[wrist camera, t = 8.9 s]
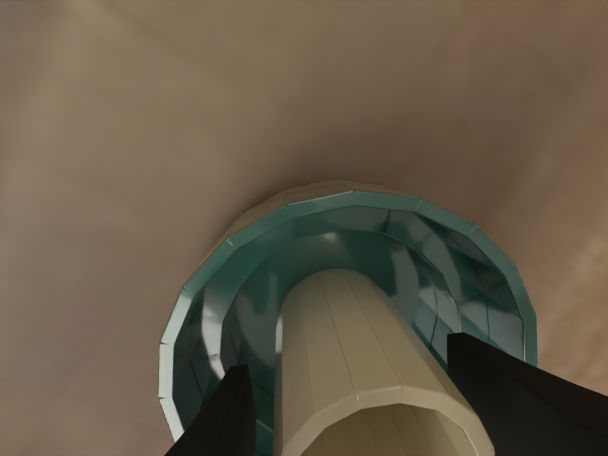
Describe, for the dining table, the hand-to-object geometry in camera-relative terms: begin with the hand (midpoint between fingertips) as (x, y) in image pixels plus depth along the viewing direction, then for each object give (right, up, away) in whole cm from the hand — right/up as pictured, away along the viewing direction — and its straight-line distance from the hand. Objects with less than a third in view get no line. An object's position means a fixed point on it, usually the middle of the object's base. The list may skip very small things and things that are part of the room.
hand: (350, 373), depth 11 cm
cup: (0, +1, +3) cm, 4 cm away
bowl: (0, +1, +4) cm, 4 cm away
